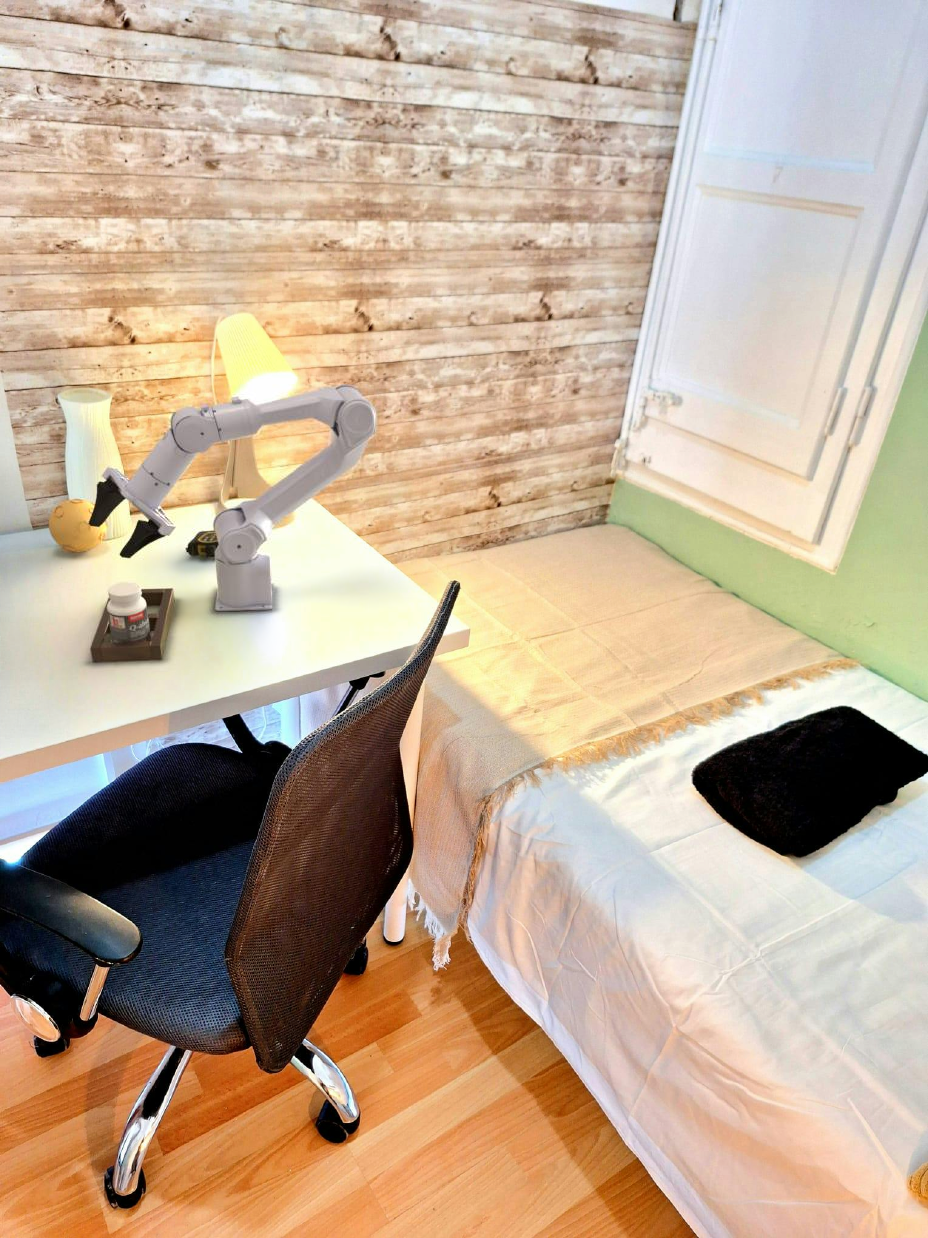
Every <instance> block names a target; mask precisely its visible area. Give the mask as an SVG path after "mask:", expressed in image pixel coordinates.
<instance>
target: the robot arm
mask: <svg viewBox="0 0 928 1238" xmlns="http://www.w3.org/2000/svg"><path fill="white" fill-rule="evenodd" d="M230 399H231V401H229V402H223V403H219V404H214V405H208V404H207V403H203V404H200V408H199V407H198V408H196V407H195V406H185V407H182V408H180V409H178V411H177V412H176V411H174V412H173V413H172V414H171V417H170V427H169V428H168V429H167V430H166V432H165V433H164V434H163V436H162V437H161V439H159V440H158V441H157V442H156V444H154V446H153V447H152V449H151V450H150V452H149V453H148V455H147V456H146V458H145V459H144V460H143V461H142V463H141V465H140V466H139V467H138V468H137V470H136V471H135V472H134V474H133V475H132V476H131V478H128V477H127V476H126V475H124V474H123V473H122V471H120V470H119V469H118V468H117V467H112V466H107V467H106V469H105V470H104V471H103V473H102V474H101V477H102V478H103V479H104V481H98V482H97V484H96V496H95V501H94V504H95V506H94V509H93V512H92V515H91V518H90V520H89V523H88V524H89V525H90V526H94V527H100V526H101V525H102V524H103V523H104V522H105V520H106V521H107V519H108V518H109V516H110V515H111V514H112V513H113V512H114V510H115V509H116V508H117V507H118V506H119V505H120V504H122V502H124V501H125V500H127V501H128V502H130V503H131V504H132V505H133V506H134V507H135V508H136V509H137V510H138V511H139V512H140V513H141V514H142V515H143V516H144V517H145V518H146V519H147V520H148V521H147V520H143V519H138V520H137V521H136V525H135V527H134V530H133V532H132V533H131V536H130V538H129V539H128V541H127V542H126V543H125V545H123V548H122V549H121V550H120V551H119V556H120V557H121V558H122V559H131V558H132V557H133V556H135V555H136V554H137V553H138V552H139V551H141V550H142V549H144V548H145V547H146V546H148V545H150V544H151V543H154V542H155V541H157V540H160V539H163V538H165V537H166V536H167V537H169V536H171V534H172V533H173V532H174V530H175V529H176V528H177V526H176V525H175V524H174V523H173V522H172V521H171V519H170V518H169V516H168V515H167V514H166V512H165V511H164V510H163V508H162V507H161V504H162V503H163V502H164V500H165V499H166V498H167V496H168V495H169V494H170V492H171V491H172V490H173V488H174V487H175V486H176V484H177V483H178V481H179V480H180V479H181V478H182V477H183V475H184V474H185V472H186V471H187V470H188V468H189V467H190V466H191V464H192V462H193V461H194V460H195V458H196V456H197V455H198V454H199V453H200V454H203V453H205V452H208V451H209V450H210V448H211V447H212V446H213V445H214V444H221V443H226V442H231V441H235V440H241V439H245V438H249V437H255V436H257V435H258V434H259V433H260V431H261V430H262V429H263V428H264V427H265V426H272V425H278V424H284V423H291V422H297V421H304V420H309V419H312V420H316V421H318V422H320V423H323V424H324V425H326V426H328V427H329V440H328V444H327V445H326V446H325V447H323V448H322V449H321V450H319V451H317V452H316V454H314V455H312V456H311V457H310V458H309V459H307V460H306V461H305V462H303V463H302V464H301V465H299V466H298V467H297V468H295V469H294V470H293V471H291V472H290V473H288V474H287V475H286V476H285V477H284V478H282V479H281V480H279V481H278V482H277V483H275V484H274V485H272V486H271V487H269V488H268V489H267V490H266V491H264V492H263V493H262V494H260V495H259V496H257V497H256V498H255V499H251V500H244V501H242V502H241V503H239V504H238V505H236V506H233V507H228V508H225V509H223V510H221V511H219V512H218V513H217V514H216V516H215V517H214V519H213V523H212V528H213V530H214V531H215V534H216V536H217V539H218V543H219V545H218V547H217V549H216V550H215V557H214V561H215V562H214V563H215V571H216V573H215V575H216V585H217V589H216V597H215V604H214V605H215V607H214V610H215V611H216V612H228V611H229V612H231V611H232V612H233V611H259V610H261V611H262V610H264V611H265V610H272V609H273V594H274V593H275V584H274V582H273V575H272V556H271V553H270V552H264V551H260V550H259V548H260V547H261V546H262V545H263V544H264V543H265V542H266V541H268V540H269V538H270V535H271V532H272V531H273V528H274V527H275V526H276V525H277V524H278V523H280V522H281V521H282V520H284V519H285V518H287V517H288V516H290V515H291V514H292V513H294V511H296V510H298V509H299V508H300V507H301V506H303V505H304V504H305V503H307V502H309V500H311V499H313V498H314V497H315V496H317V494H319V493H321V492H322V491H323V490H324V489H326V488H327V487H328V486H329V485H331V484H332V483H333V482H335V481H336V480H338V479H339V478H340V477H342V476H343V475H345V474H346V473H347V472H348V471H350V470H351V469H352V468H354V467H355V466H356V465H357V464H358V463H359V462H360V461H361V458H362V456H363V455H364V452H365V450H366V448H367V445H368V444H369V441H370V439H371V438H372V437H373V436H375V434H376V433H377V411H376V409H375V407H374V405H373V404H372V403H371V402H370V401H368V400H367V398H365V397H364V396H363V394H362V393H361V391H360V390H359V389H358V388H357V387H355V386H354V385H351V384H339V385H337V386H335V387H334V386H331V385H329V386H323V387H321V388H318V389H315V390H312V391H307V392H303V393H299V394H295V395H291V396H288V397H283V398H279V399H276V400H271V401H267V402H263V403H260V404H257V403H255V402H254V401H252V400H251V399H249V398H245V399H241V397H240V396H239V395H238V396H233V397H231V398H230Z"/></svg>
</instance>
